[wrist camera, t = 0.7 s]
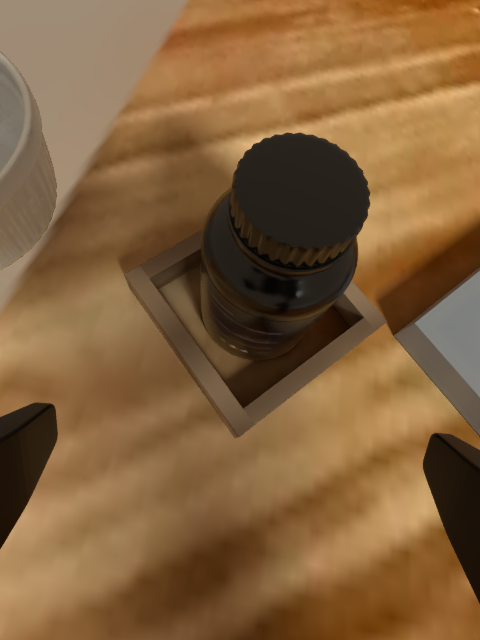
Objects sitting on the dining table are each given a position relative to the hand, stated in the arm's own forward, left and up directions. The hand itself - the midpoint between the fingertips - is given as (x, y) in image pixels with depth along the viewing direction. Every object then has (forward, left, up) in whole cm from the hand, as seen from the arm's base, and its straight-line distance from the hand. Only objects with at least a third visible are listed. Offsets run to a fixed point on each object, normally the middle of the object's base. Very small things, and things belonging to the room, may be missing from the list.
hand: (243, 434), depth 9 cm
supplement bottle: (+5, -7, -13) cm, 16 cm away
